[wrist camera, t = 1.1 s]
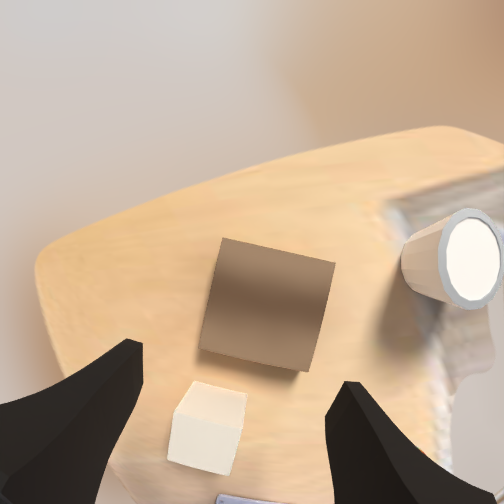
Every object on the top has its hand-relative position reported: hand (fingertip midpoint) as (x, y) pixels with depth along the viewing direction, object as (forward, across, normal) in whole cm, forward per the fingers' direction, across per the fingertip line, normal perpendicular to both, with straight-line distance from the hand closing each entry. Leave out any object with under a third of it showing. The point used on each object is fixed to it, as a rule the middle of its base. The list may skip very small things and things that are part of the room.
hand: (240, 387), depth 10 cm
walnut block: (+13, -2, +3) cm, 14 cm away
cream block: (+9, 0, +13) cm, 16 cm away
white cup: (+14, -15, -2) cm, 21 cm away
